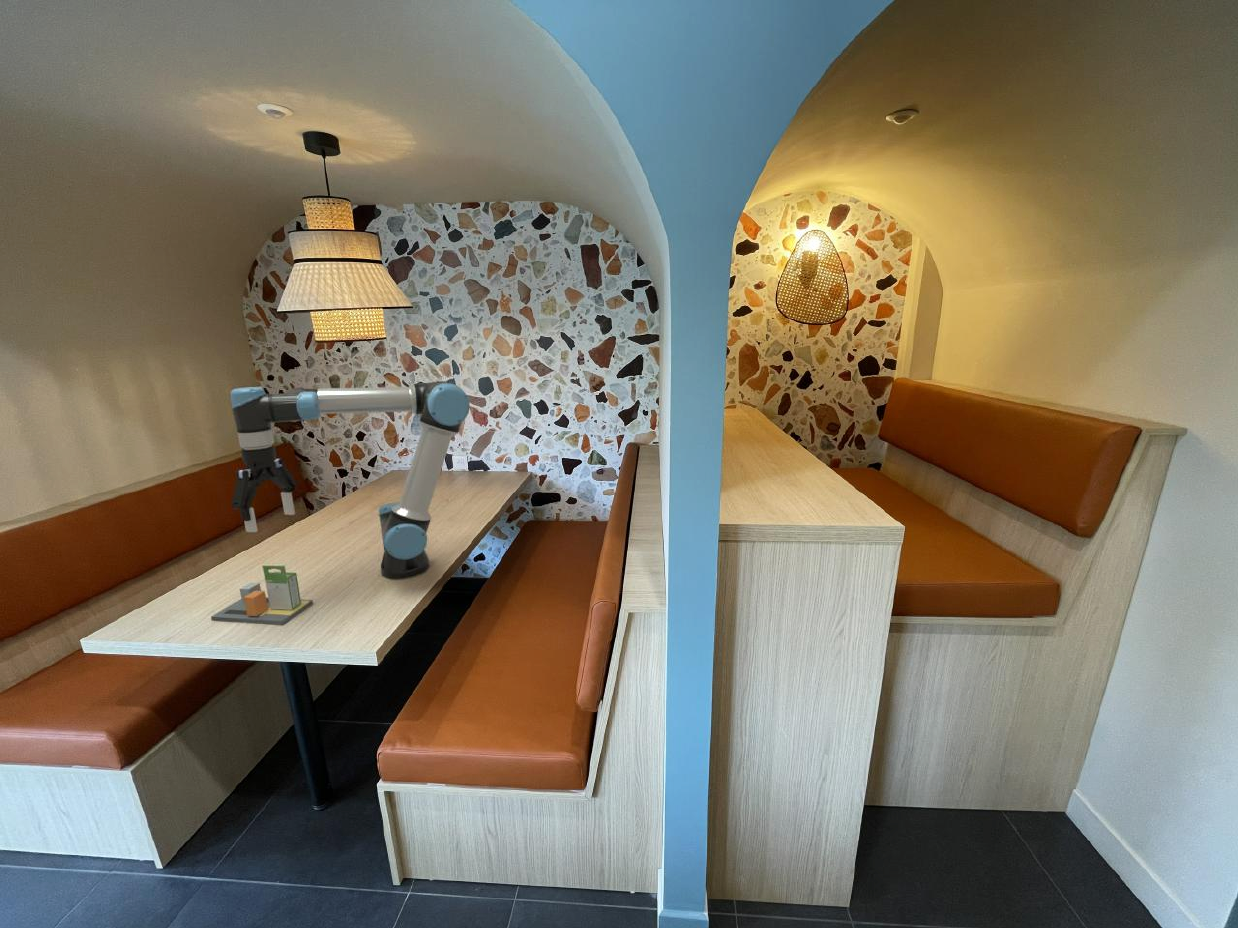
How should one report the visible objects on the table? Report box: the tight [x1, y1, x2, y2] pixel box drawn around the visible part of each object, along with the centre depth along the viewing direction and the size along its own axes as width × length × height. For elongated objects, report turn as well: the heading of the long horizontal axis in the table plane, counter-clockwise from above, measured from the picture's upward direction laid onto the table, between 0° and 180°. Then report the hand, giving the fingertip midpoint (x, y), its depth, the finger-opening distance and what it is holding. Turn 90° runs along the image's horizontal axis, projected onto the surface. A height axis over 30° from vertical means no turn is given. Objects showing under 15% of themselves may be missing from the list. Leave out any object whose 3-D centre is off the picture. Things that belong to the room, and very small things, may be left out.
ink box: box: [262, 565, 302, 610], centre depth 153 cm, size 7×4×13 cm, turn 82°
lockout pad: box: [261, 600, 310, 616], centre depth 154 cm, size 8×9×1 cm
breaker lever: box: [244, 590, 268, 616], centre depth 150 cm, size 4×3×6 cm
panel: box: [210, 582, 314, 626], centre depth 154 cm, size 12×22×6 cm, turn 81°
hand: (271, 522), depth 148 cm, fingers open, 13 cm apart
